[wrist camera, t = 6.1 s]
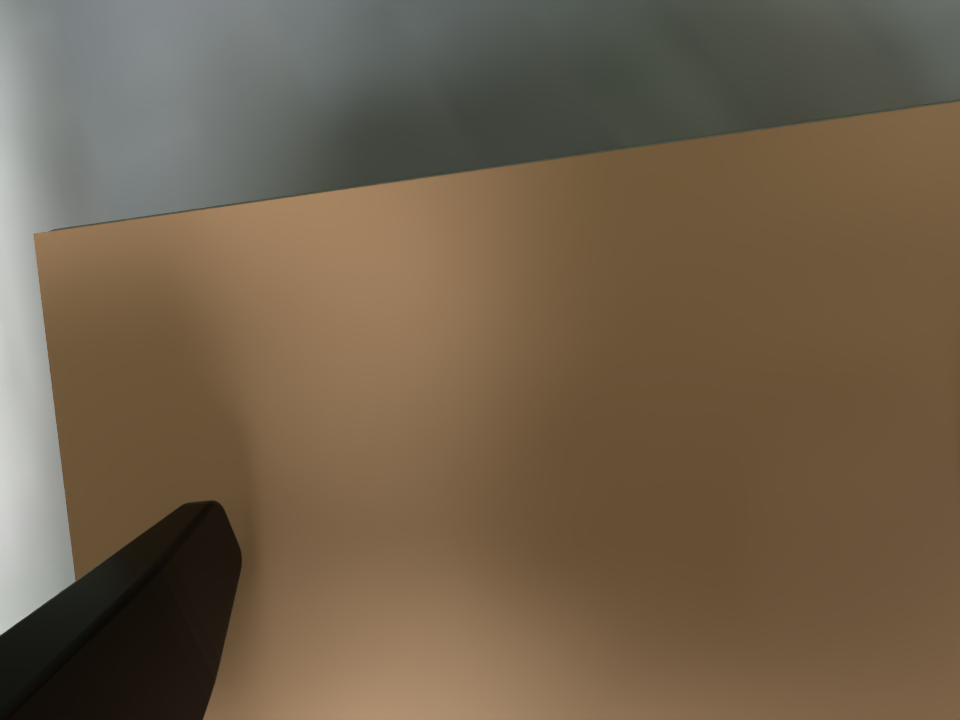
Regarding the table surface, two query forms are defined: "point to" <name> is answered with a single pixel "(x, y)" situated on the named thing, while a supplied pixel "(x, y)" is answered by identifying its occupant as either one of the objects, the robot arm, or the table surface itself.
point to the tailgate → (550, 427)
